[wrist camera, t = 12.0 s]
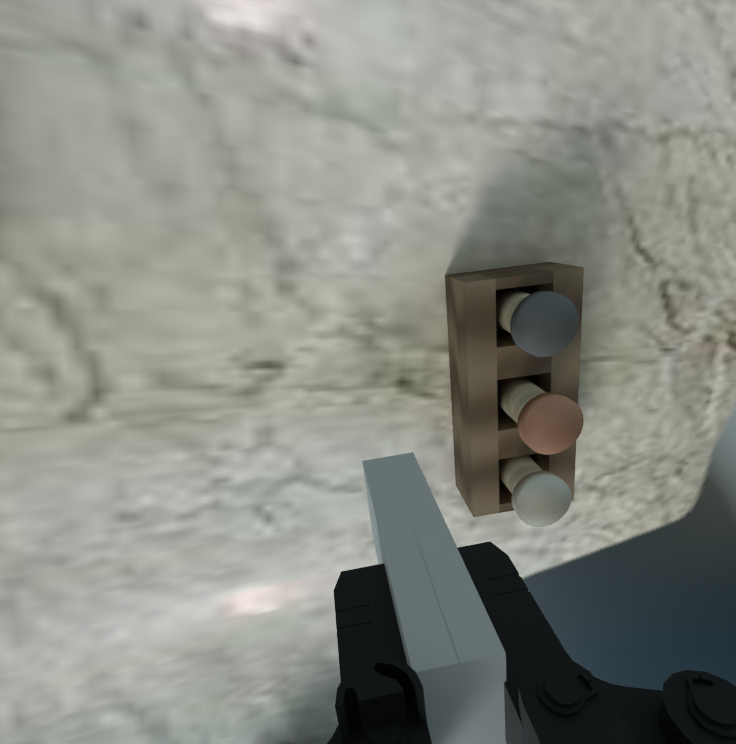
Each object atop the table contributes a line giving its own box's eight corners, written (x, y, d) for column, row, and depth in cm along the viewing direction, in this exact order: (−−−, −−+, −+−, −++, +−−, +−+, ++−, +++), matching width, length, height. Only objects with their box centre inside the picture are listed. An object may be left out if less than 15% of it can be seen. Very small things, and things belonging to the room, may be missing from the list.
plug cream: (479, 435, 42) (516, 482, 35) (525, 428, 43) (572, 473, 35) (480, 477, 44) (516, 530, 36) (525, 470, 44) (570, 521, 36)
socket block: (445, 275, 38) (464, 282, 33) (550, 262, 39) (583, 267, 34) (456, 485, 44) (473, 517, 39) (545, 470, 45) (573, 500, 40)
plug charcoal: (474, 282, 38) (516, 297, 30) (526, 275, 38) (579, 289, 31) (476, 334, 39) (516, 361, 32) (526, 327, 40) (577, 352, 32)
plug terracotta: (481, 367, 39) (523, 402, 31) (531, 359, 39) (584, 392, 32) (483, 414, 40) (523, 458, 33) (531, 407, 41) (581, 449, 33)
